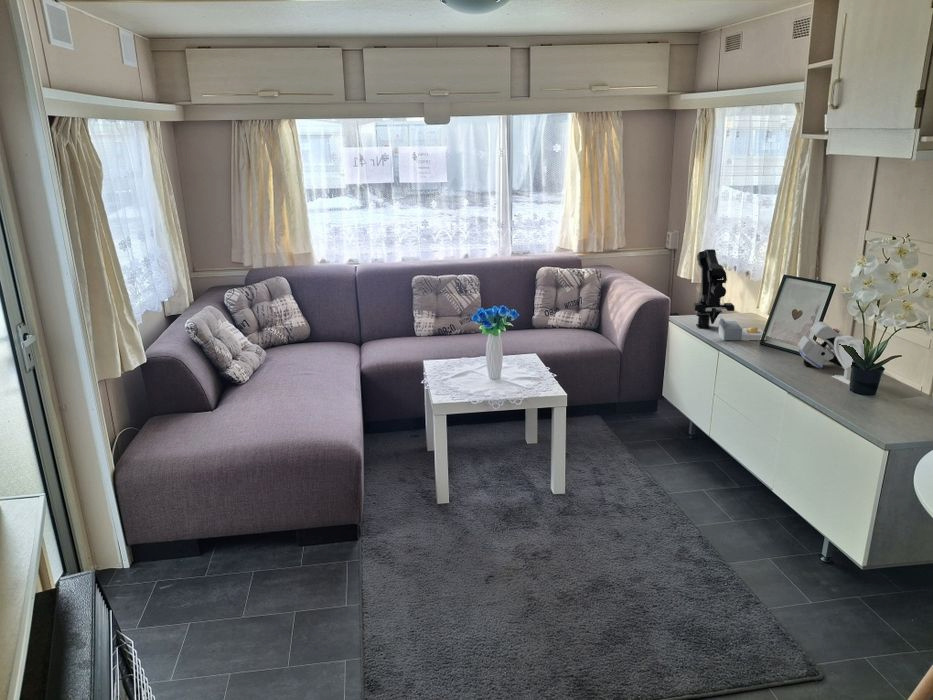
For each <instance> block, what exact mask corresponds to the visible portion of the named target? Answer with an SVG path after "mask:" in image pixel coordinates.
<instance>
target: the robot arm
mask: <svg viewBox="0 0 933 700" xmlns="http://www.w3.org/2000/svg"><path fill="white" fill-rule="evenodd" d="M696 260H697V264H698V266H699V268H700V270H701V276H700V278H701V281H700V284H701V288H700V290H701V292H700V298H699V300H698V301H697V302H694V303H693V305H692V309H693V310H694V313H695V314H694V315H695V316H696V317H698V318H697V323H696V325H695V326H696V328H698V329H711V328H712V326H711V325H713V324H714V323H715V321H716V320H717V318H718V316H719V315H720V314H722V313H723V311H722V310H723V309H724V310H726V311H728V312H735V308H736V307H735V305H734V304H733V303H732V302H724V303H723V304H721V299H722V298H724V297H725V296H726V293H727V289H726V288H725V287H724V286H723V284H726V283H727V281H728V279H727V278H728V276H727V272H726V269H724V267H723V265H721V264H719V261H718V258H717V252H716V249H713V248H711V249H708V248H707V249H704V250H703V251H699V252H698V253H697V255H696ZM710 324H711V325H710Z"/></svg>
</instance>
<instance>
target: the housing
mask: <svg viewBox="0 0 933 700" xmlns="http://www.w3.org/2000/svg"><path fill="white" fill-rule="evenodd" d="M718 328H719V333H718V332H717V333H718V335H719V337H720V338H721V337H722V338H721V339H722V340H723V341H724V333H725V330H724V329H723V327H722V326H721V325H720V324H719V323H718ZM741 328H742V337H741V340H760V338H761V336H762V333H763V332H764V331H763V330H762V328H761V327H760V328H759V327H757V328H758V331H757V333H749V327H747V328H745V327H744V328H743V327H741Z"/></svg>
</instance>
